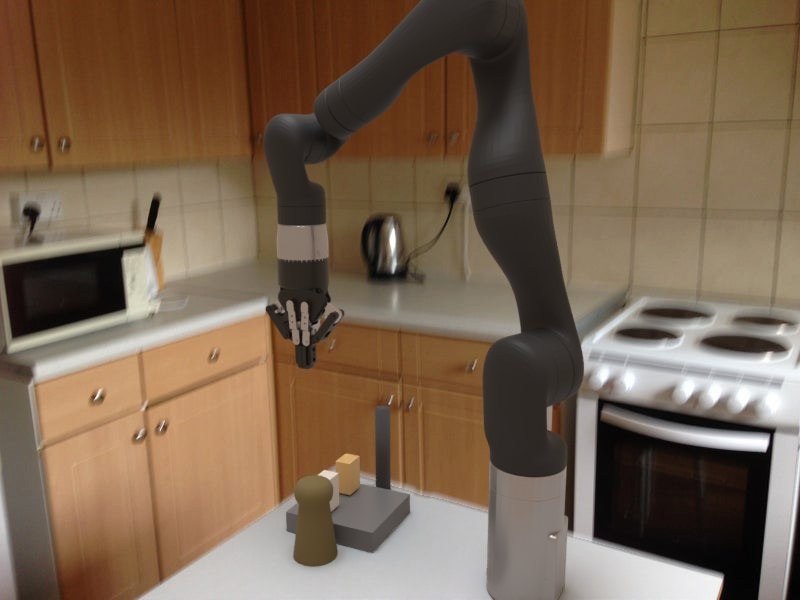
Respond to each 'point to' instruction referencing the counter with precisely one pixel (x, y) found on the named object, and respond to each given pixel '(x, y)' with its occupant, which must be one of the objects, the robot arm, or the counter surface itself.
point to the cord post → (382, 446)
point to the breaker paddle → (348, 473)
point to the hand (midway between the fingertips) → (306, 367)
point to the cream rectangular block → (335, 483)
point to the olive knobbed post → (314, 522)
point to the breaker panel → (363, 516)
